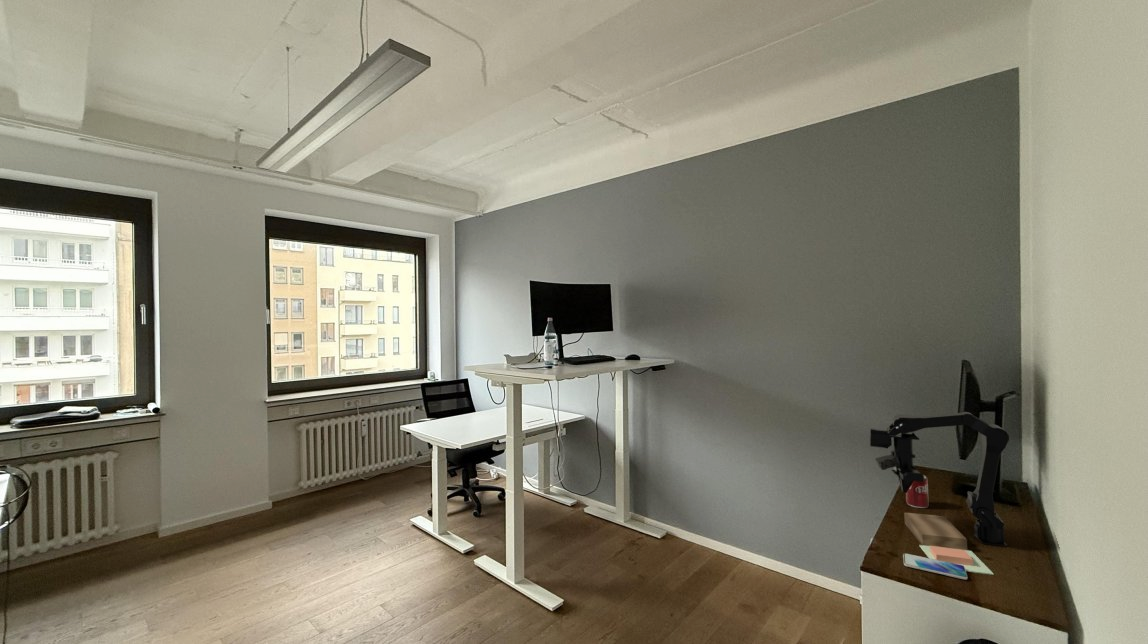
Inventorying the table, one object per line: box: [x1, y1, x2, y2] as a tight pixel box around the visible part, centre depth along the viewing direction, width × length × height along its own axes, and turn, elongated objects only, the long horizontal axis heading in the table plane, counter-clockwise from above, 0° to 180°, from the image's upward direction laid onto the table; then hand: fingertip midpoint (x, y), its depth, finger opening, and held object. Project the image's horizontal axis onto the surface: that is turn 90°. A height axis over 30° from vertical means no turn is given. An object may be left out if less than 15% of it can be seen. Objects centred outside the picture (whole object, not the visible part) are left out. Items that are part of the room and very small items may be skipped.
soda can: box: [905, 474, 930, 509], centre depth 181 cm, size 7×7×12 cm
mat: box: [919, 544, 995, 576], centre depth 141 cm, size 14×14×1 cm
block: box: [930, 546, 973, 566], centre depth 141 cm, size 9×6×2 cm, turn 67°
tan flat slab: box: [903, 512, 968, 550], centre depth 156 cm, size 12×18×4 cm, turn 159°
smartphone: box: [902, 552, 968, 581], centre depth 136 cm, size 7×1×15 cm
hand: (904, 492), depth 163 cm, fingers closed
